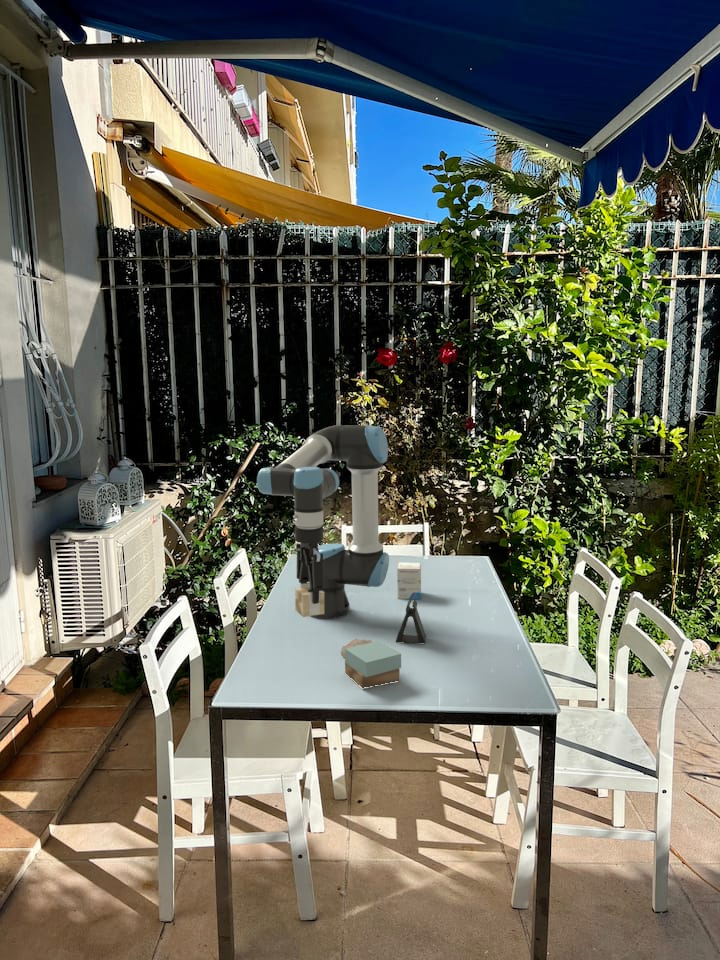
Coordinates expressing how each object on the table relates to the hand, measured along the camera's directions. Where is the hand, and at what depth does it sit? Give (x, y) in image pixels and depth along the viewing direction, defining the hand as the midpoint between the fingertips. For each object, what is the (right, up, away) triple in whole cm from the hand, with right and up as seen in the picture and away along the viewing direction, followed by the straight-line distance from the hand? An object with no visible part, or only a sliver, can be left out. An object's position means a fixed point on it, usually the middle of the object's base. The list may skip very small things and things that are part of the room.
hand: (309, 610), depth 191 cm
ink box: (+32, -8, +72) cm, 79 cm away
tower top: (+17, -15, +2) cm, 23 cm away
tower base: (+17, -19, +3) cm, 26 cm away
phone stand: (+29, -15, +30) cm, 44 cm away
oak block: (0, 0, 0) cm, 0 cm away
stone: (+14, -17, +20) cm, 30 cm away
